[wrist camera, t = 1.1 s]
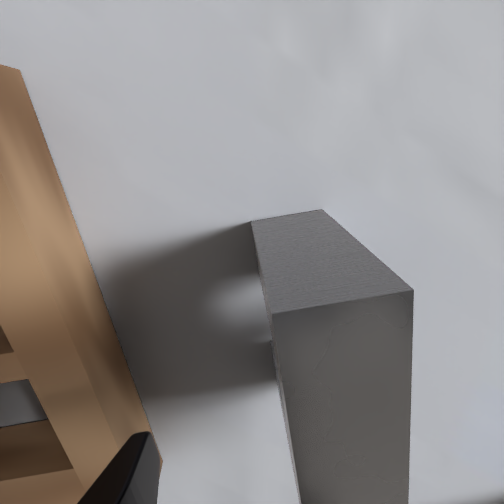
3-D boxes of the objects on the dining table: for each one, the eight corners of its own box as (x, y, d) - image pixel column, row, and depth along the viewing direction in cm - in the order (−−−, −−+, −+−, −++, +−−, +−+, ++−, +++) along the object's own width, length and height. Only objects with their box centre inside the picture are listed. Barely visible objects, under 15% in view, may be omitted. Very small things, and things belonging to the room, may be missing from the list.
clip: (335, 370, 14) (407, 536, 8) (276, 380, 14) (308, 552, 8) (322, 209, 11) (413, 290, 6) (250, 221, 11) (271, 313, 6)
